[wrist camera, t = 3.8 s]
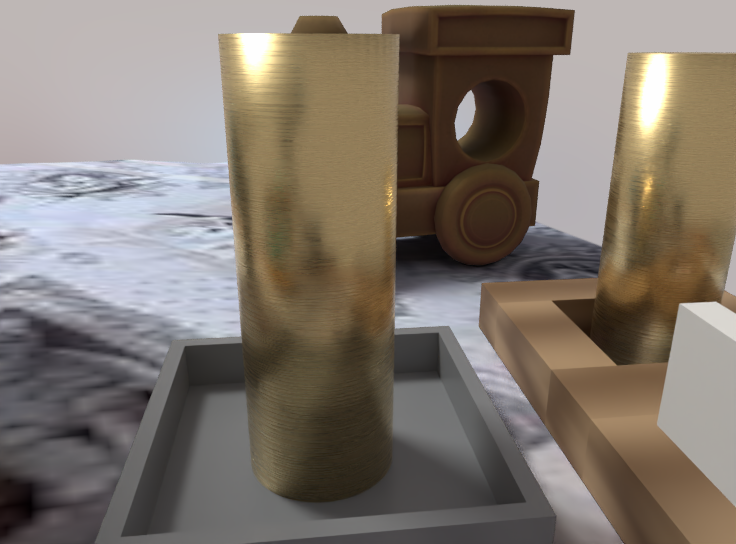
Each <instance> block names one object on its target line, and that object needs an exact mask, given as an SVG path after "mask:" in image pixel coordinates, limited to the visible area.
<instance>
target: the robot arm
mask: <svg viewBox="0 0 736 544" xmlns="http://www.w3.org/2000/svg"><path fill="white" fill-rule="evenodd" d="M657 425H658V426H659V428H660V429H661V430H662V431H663V432H664V433H665V434H666V435H667V436H668V437H669V438H670V439H671V440H672V441H673V442H674V443H675V444H676V445H677V446H678V447H679V448H680V449H681V450H682V452H683V453H684V454H685V455H686V456H687V457H688V458H689V459H690V460H691V461H692V462H693V463H694V464H695V465H696V466H697V467H698V468H699V469H700V470H701V471H702V472H703V473H704V475H705V476H706V477H707V478H708V479H709V480H710V481H711V482H712V483H713V484H714V485H715V486H716V487H717V488H718V489H719V490H720V491H721V492H722V493H723V494H724V495H725V496H726V498H727V499H728V500H729V501H730V502H731V503H732V504H733V505H734V506H735V507H736V314H735V313H734V312H732V311H731V310H729V309H727V308H726V307H724V306H722V305H721V304H719V303H717V302H701V303H680V304H679V309H678V314H677V319H676V325H675V330H674V335H673V341H672V346H671V351H670V357H669V362H668V367H667V373H666V378H665V383H664V389H663V394H662V399H661V405H660V410H659V415H658V421H657Z"/></svg>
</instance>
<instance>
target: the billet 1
mask: <svg viewBox="0 0 736 544" xmlns="http://www.w3.org/2000/svg"><path fill="white" fill-rule="evenodd" d="M218 38H219V51H220V64H221V77H222V90H223V103H224V116H225V129H226V142H227V154H228V168H229V181H230V194H231V207H232V220H233V233H234V246H235V259H236V272H237V285H238V298H239V311H240V324H241V337H242V350H243V363H244V376H245V389H246V402H247V415H248V428H249V441H250V455H251V465H252V470H253V473H254V475H255V476H256V478H257V480H258V481H259V482H260V483H261V484H262V485H263V486H264V487H266V488H267V489H268V490H270V491H272V492H273V493H275V494H277V495H280V496H282V497H285V498H288V499H291V500H296V501H301V502H312V503H321V502H333V501H338V500H343V499H347V498H350V497H353V496H356V495H358V494H361V493H363V492H365V491H367V490H369V489H370V488H372V487H373V486H375V485H376V484H377V483H378V482H379V481H380V480H382V478H383V477H384V476H385V475H386V474H387V472H388V470H389V468H390V466H391V463H392V451H393V391H394V331H395V272H396V212H397V153H398V93H399V34H218Z"/></svg>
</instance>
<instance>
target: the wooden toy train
mask: <svg viewBox="0 0 736 544" xmlns="http://www.w3.org/2000/svg"><path fill="white" fill-rule="evenodd" d="M574 13H575V10H565V9H553V8H541V7H523V6H482V5H442V6H441V5H440V6H414V7H413V6H412V7H404V8H398V9H391V10H389V11H387V12H385V13H383V14H382V34H399V93H398V153H397V212H396V238H397V237H409V236H421V235H432V234H436V236H437V238H438V240H439V242H440V244H441V247H442V249H443V250H444V251H445V252H446V253H447V254H448V255H449V256H450V257H451V258H452V259H454V260H456V261H459V262H461V263H463V264H465V265H485V264H489V263H493V262H497V261H499V260H501V259H502V258H504V257H506V256H507V255H509V254H511V252H512V251H513V250H514V249H515V248H516V247H517V246H518V245H519V244H520V243H521V241H522V240H523V238H524V236H525V234H526V232H527V230H528V228H529V226H535V220H536V209H537V199H538V198H537V197H538V188H539V181H538V180H535V179H533V178H532V175H533V171H534V167H535V164H536V160H537V156H538V152H539V148H540V145H541V140H542V134H543V129H544V123H545V118H546V111H547V104H548V98H549V89H550V80H551V71H552V61H553V55H570V50H571V41H572V32H573V22H574ZM291 34H348V33H347V32H346V30H345V28H344V27H343V25H342V23H341V22H340V20H339V18H338V17H336V16H300V17H299V19H298V20H297V23H296V24H295V27H294V28H293V30H292V32H291ZM470 90H472V92H473V94H474V98H475V106H476V111H475V115H474V120H473V123H472V125H471V127H470V128H469V130H468V132H467V133H466V135H464V136H463V137H462V138H461V139H459V140H458V141H457V139H456V132H455V124H454V122H455V118H456V114H457V110H458V106H459V105H460V103H461V102H462V100H463V98H464V96H465V95H466V94H467V92H469V91H470Z"/></svg>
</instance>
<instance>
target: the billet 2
mask: <svg viewBox="0 0 736 544" xmlns="http://www.w3.org/2000/svg"><path fill="white" fill-rule="evenodd" d="M735 235H736V53H706V52H703V53H702V52H701V53H700V52H697V53H696V52H695V53H694V52H661V53H660V52H658V53H657V52H651V53H650V52H649V53H648V52H647V53H628V56H627V63H626V70H625V79H624V86H623V93H622V101H621V108H620V116H619V123H618V131H617V139H616V146H615V153H614V161H613V168H612V176H611V183H610V191H609V199H608V206H607V214H606V221H605V228H604V236H603V244H602V251H601V259H600V266H599V274H598V281H597V289H596V296H595V304H594V311H593V319H592V326H591V334H590V339H591V340H592V341H593V342H594V343H595V344H596V345H597V346H598V347H599V348H600V349H601V350H602V351H603V352H604V353H605V354H606V355H607V356H608V357H609V358H610V359H611V360H612V361H613V362H614V363H615V364H616V365H617V366H618V365H635V364H651V363H668V362H669V357H670V351H671V346H672V341H673V335H674V330H675V325H676V319H677V314H678V309H679V304H680V303H701V302H717V303H719V304H721V303H722V298H723V293H724V289H725V283H726V279H727V274H728V269H729V265H730V259H731V255H732V250H733V245H734V241H735Z"/></svg>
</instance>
